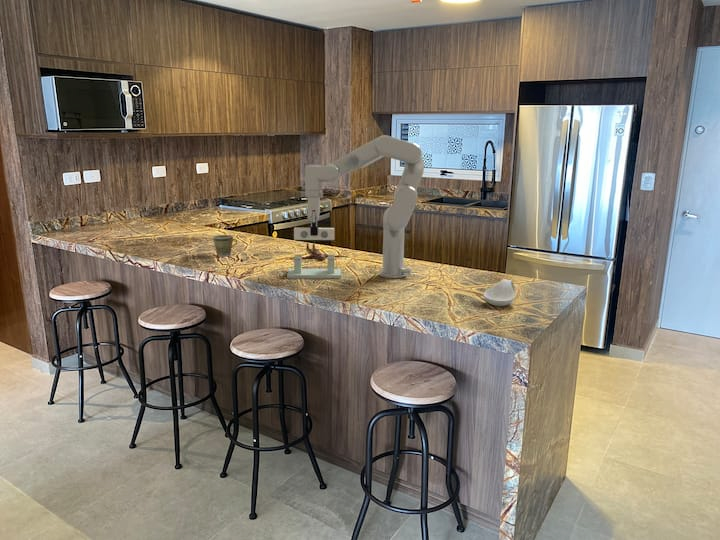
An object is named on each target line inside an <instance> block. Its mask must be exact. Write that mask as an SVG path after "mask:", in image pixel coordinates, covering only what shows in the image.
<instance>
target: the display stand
mask: <svg viewBox="0 0 720 540" xmlns="http://www.w3.org/2000/svg"><path fill="white" fill-rule="evenodd" d="M334 256H335V254H331V253H328V258H327V268H303V267H302V265H303V262H302V260H303V259H302V257H303V255H302V254H300V253H299V254H294V256H293V258H294V260H293V264H294V265H293V267H294V268H288V272H287V274H286V278H287V279H332V278H341V279H342V269H341V268H335V258H334Z"/></svg>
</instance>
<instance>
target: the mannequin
mask: <svg viewBox="0 0 720 540" xmlns="http://www.w3.org/2000/svg"><path fill="white" fill-rule="evenodd" d="M309 245H310V243H308V242H307V243H306V250H307V251H308V252H309V251H310V252H309V253H310V255H307V256H302V260H312V259H318V260H319V261H324V260H325V259H328V254H329V253H328V254H327V253H326V254H325V253H323V254H322V253H321V252H320V250H319V249H318V248H316V245H315V242H313V243H312V249H311V248H310V246H309ZM334 257H335V258H348V257H349V256H348V255H334ZM291 259H294V257H291V258H290V260H291Z"/></svg>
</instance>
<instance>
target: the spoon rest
mask: <svg viewBox="0 0 720 540" xmlns="http://www.w3.org/2000/svg"><path fill="white" fill-rule="evenodd" d="M515 296H516V294H515V285H514V282H513V280H512V279H511V280H510V279H509V280H508V279H505V278H503V279H501V280H500V281H499V282H497V283H496V284H495V285H493V286H491V287H490V288H488V289H487V290H485V291H484V293H483V298H484V300H485V301H486V302H487V303H488V304H490V305H492V306H496V307H505V306H508V305H510V304H511V303H512V302H514V299H515V298H516V297H515Z"/></svg>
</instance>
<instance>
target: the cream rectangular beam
mask: <svg viewBox="0 0 720 540" xmlns="http://www.w3.org/2000/svg"><path fill="white" fill-rule="evenodd" d="M335 235H336V234H335V227H318V235H317V236H311V228H310V227H294V228H293V240H294V241H301V240H302V241H335Z"/></svg>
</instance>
